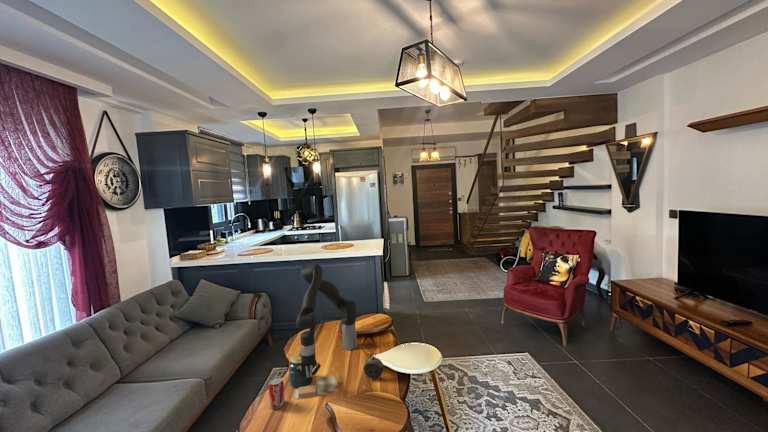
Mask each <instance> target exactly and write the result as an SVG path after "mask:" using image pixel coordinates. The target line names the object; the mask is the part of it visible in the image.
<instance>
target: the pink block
mask: <svg viewBox="0 0 768 432" xmlns="http://www.w3.org/2000/svg"><path fill="white" fill-rule="evenodd" d="M298 389H299V393H298V395H299V398H300V397H305V398H307V397H306V396H310V397H313V396H312V395H314V396H317V395H316V384H309V385H308V386H304V387H299V388H298ZM300 399H301V398H300Z"/></svg>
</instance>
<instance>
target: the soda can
mask: <svg viewBox="0 0 768 432" xmlns="http://www.w3.org/2000/svg"><path fill="white" fill-rule="evenodd" d="M284 389H285V387H284V380H283V378H282V377H281V376H275V377H273V378H271V379H270V380H269V383H268V401H269V407H270V408H271V409H274V410H278V409H280V408H282V407H283V405H284V404H285V390H284Z"/></svg>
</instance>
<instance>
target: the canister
mask: <svg viewBox="0 0 768 432" xmlns="http://www.w3.org/2000/svg"><path fill="white" fill-rule="evenodd" d="M300 364H301V350H300V351H298V352H296V353H294V354H293V355H292V356H291V357H290V358H289V361H288V366H289V368H288V372H289V374H288V375H289V384H290V385H289V386H291V387H292V388H294V389H295V388H296V389H299V387H304V386H310V384H308V383H307V377H303V376H302V375H301V374H300V373H299V372H298V371H297V367H299V366H300ZM302 371H303V372H305V373H306V371H304V369H303V368H302ZM308 373H309V375H310V371H308ZM313 380H314V375H313V376H312V382H313Z"/></svg>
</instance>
